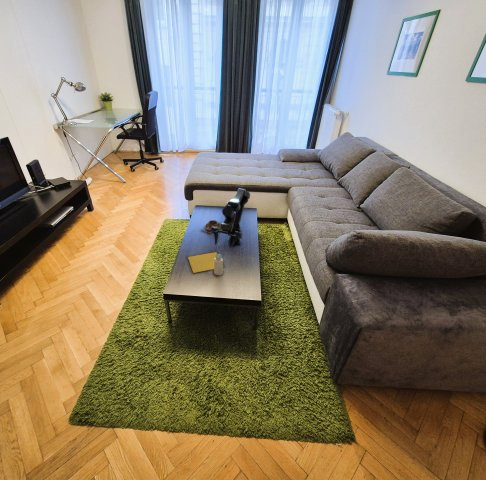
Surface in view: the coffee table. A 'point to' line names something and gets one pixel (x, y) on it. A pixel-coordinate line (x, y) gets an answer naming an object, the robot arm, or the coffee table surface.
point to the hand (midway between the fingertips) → (222, 246)
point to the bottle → (218, 264)
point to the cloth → (202, 262)
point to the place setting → (212, 223)
